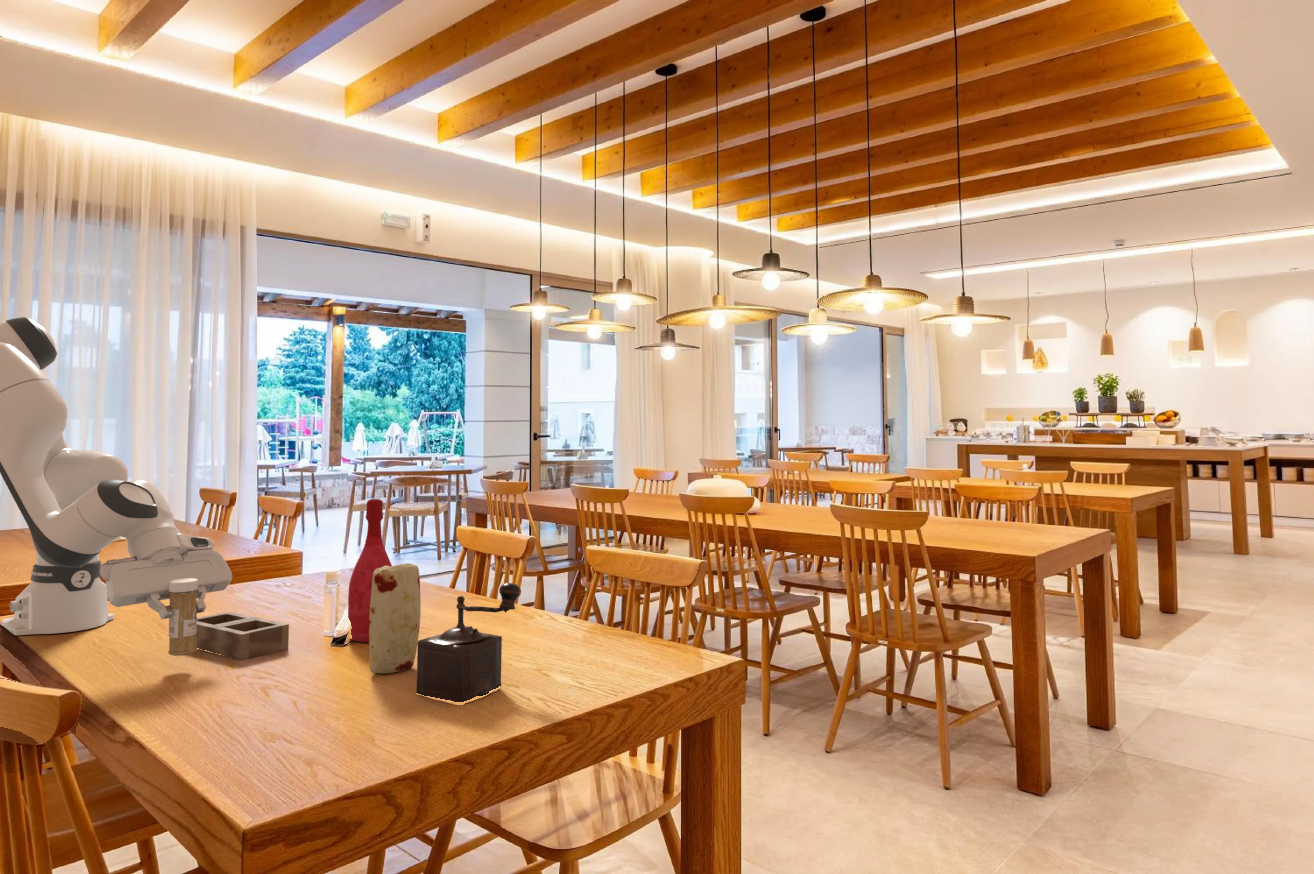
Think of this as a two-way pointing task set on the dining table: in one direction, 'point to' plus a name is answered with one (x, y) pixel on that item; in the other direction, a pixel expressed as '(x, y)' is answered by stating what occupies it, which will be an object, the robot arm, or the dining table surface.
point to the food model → (394, 618)
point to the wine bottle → (366, 573)
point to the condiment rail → (240, 635)
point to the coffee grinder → (463, 656)
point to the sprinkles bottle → (183, 616)
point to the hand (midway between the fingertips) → (184, 613)
